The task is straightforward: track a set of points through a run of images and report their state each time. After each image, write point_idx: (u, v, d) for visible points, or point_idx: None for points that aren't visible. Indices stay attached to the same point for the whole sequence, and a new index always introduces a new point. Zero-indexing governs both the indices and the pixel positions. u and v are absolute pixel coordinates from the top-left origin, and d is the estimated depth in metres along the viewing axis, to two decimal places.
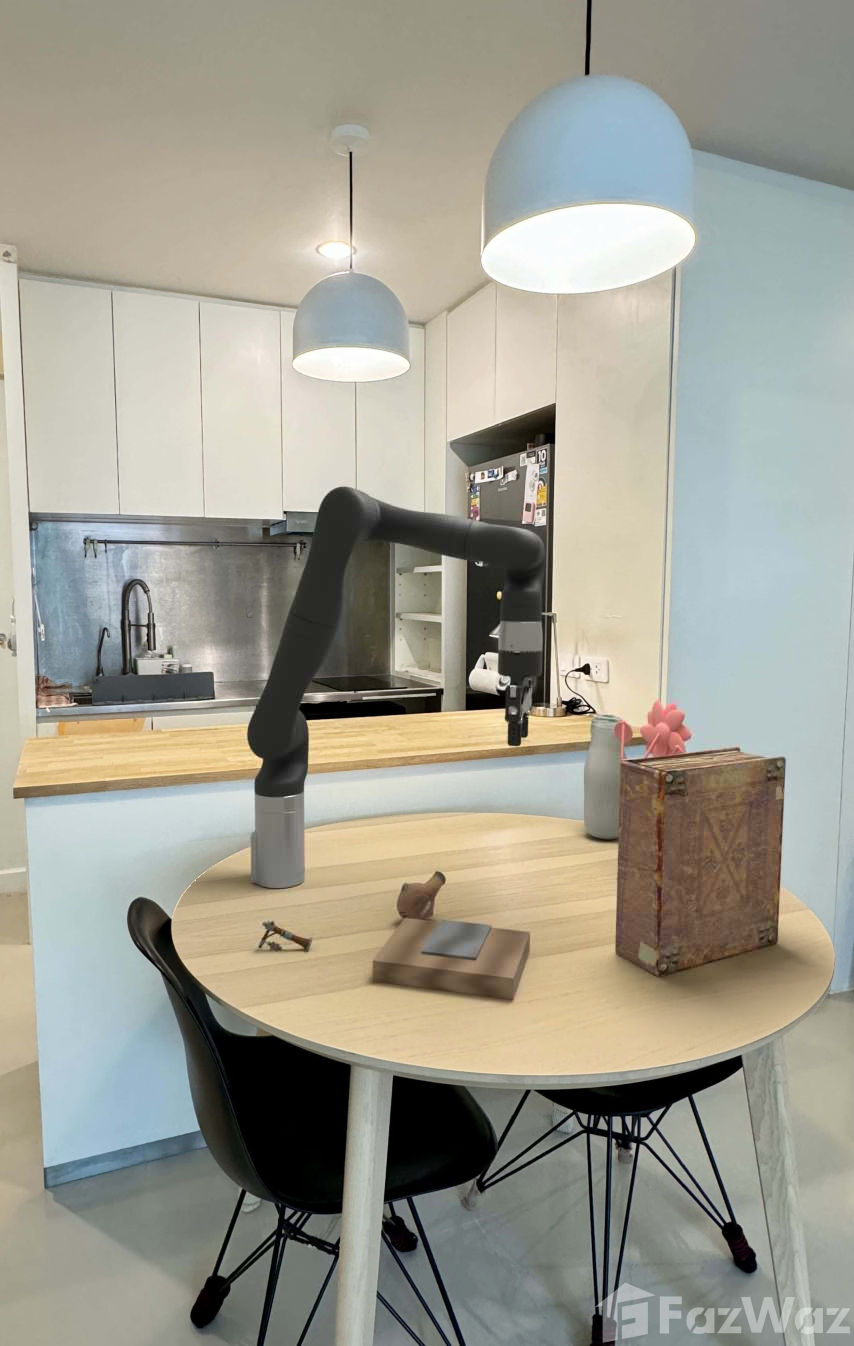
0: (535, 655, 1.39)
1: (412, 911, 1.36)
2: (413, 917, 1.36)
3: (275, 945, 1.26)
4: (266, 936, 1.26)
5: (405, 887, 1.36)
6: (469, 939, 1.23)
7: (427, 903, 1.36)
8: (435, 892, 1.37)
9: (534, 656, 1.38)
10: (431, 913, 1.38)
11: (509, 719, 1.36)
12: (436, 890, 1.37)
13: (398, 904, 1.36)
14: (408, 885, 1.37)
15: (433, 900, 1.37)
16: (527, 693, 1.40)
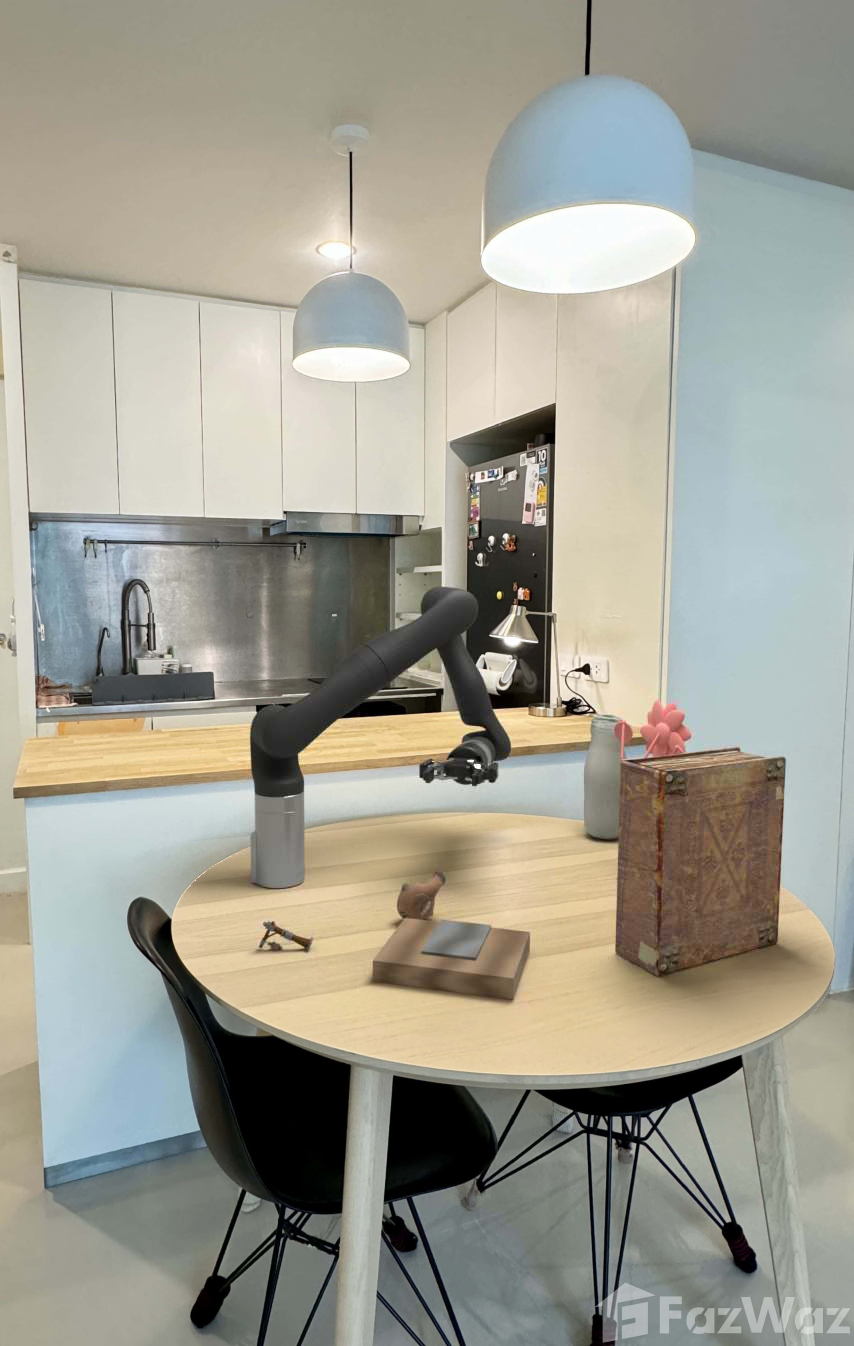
0: None
1: (412, 911, 1.36)
2: (413, 917, 1.36)
3: (276, 945, 1.26)
4: (267, 936, 1.26)
5: (405, 887, 1.36)
6: (469, 939, 1.23)
7: (427, 903, 1.36)
8: (435, 892, 1.37)
9: None
10: (431, 913, 1.38)
11: (494, 773, 1.49)
12: (436, 890, 1.37)
13: (398, 904, 1.36)
14: (408, 885, 1.37)
15: (433, 900, 1.37)
16: None
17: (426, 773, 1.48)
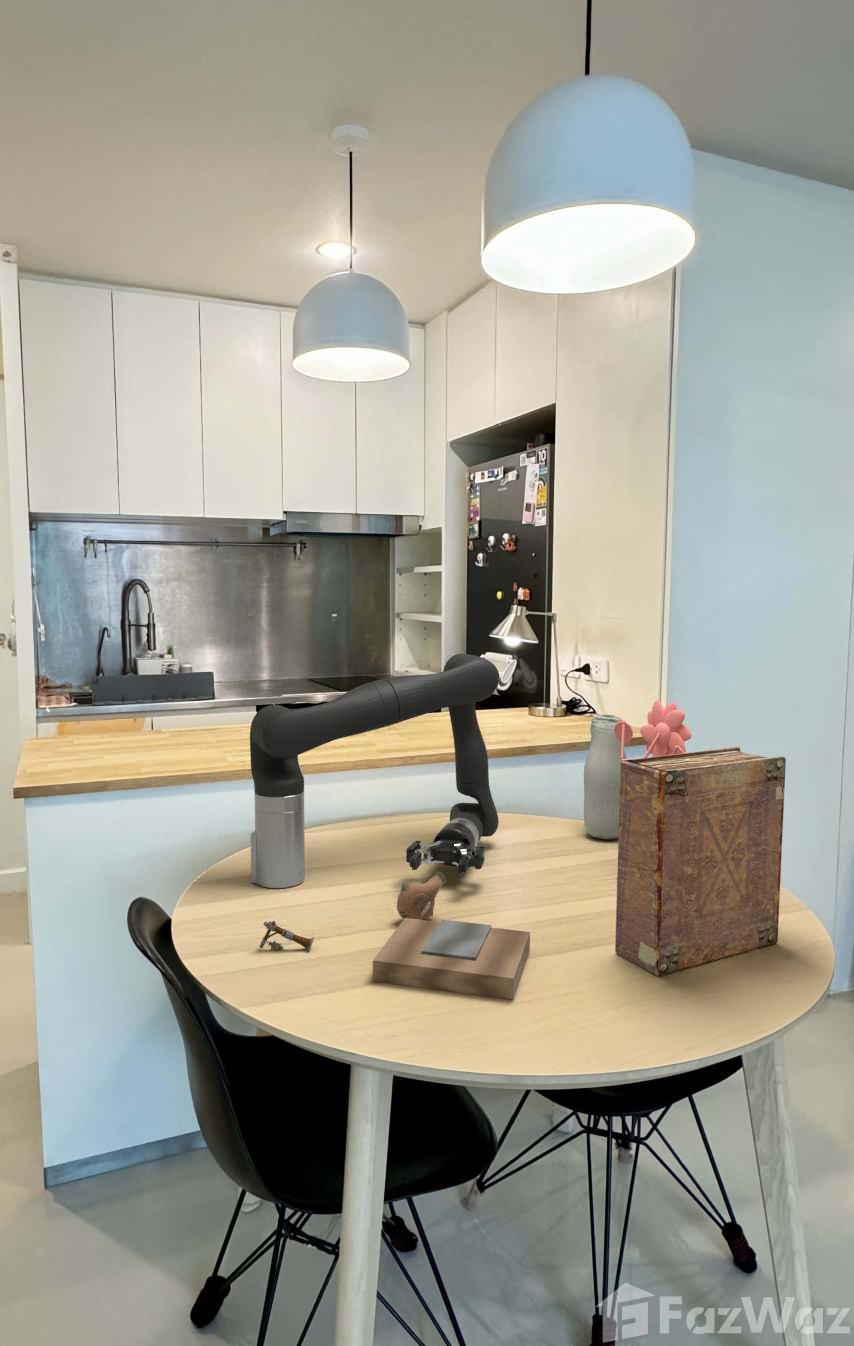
0: None
1: (412, 911, 1.36)
2: (413, 917, 1.36)
3: (276, 945, 1.26)
4: (267, 936, 1.26)
5: (405, 887, 1.36)
6: (469, 939, 1.23)
7: (427, 903, 1.36)
8: (435, 892, 1.37)
9: None
10: (431, 913, 1.38)
11: (480, 859, 1.50)
12: (436, 890, 1.37)
13: (398, 904, 1.36)
14: (408, 885, 1.37)
15: (433, 900, 1.37)
16: None
17: (413, 860, 1.48)
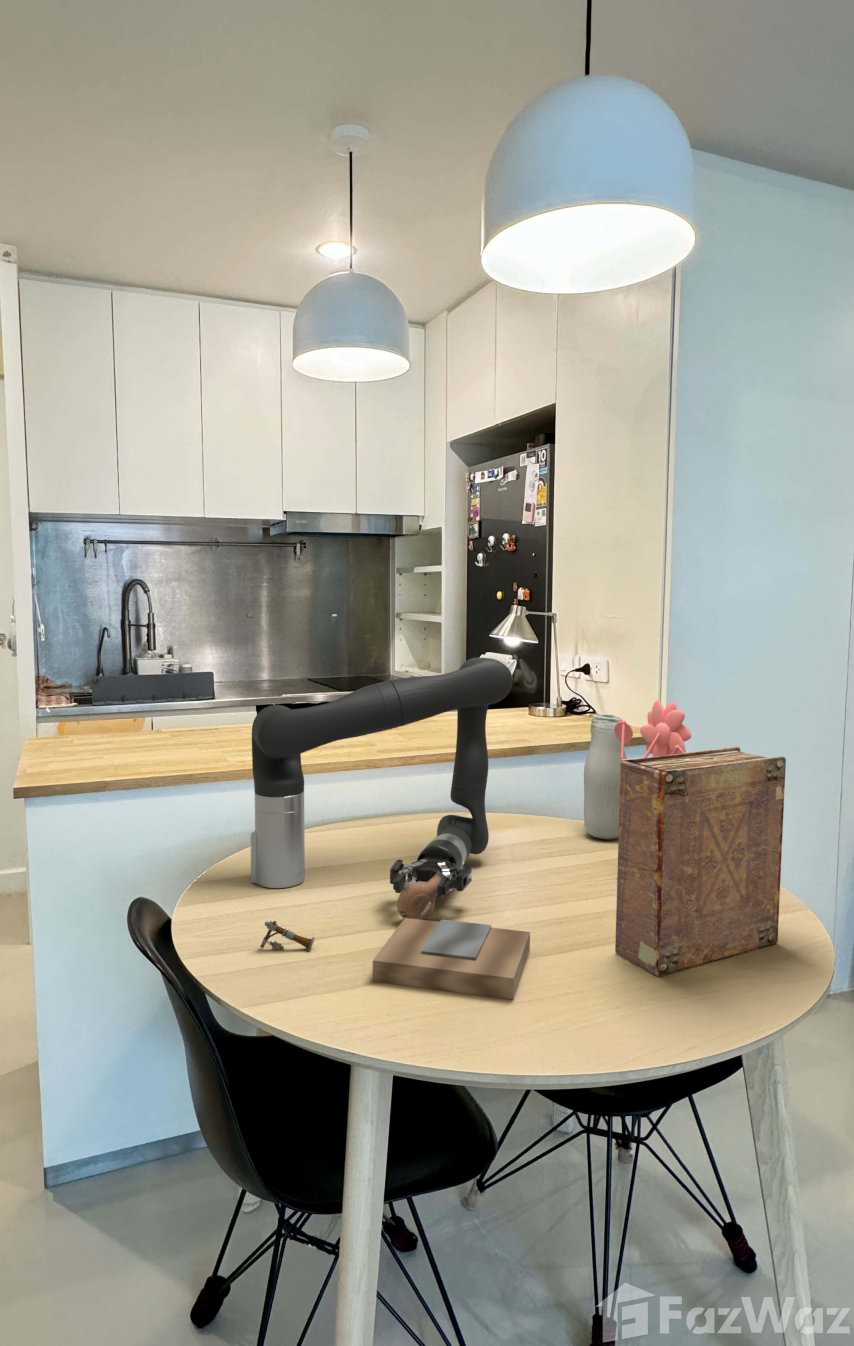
0: None
1: (412, 911, 1.36)
2: (413, 917, 1.36)
3: (277, 945, 1.27)
4: (268, 936, 1.26)
5: (406, 887, 1.36)
6: (469, 939, 1.23)
7: (427, 903, 1.36)
8: (436, 892, 1.37)
9: None
10: (431, 913, 1.38)
11: (462, 880, 1.39)
12: None
13: (398, 904, 1.36)
14: (409, 885, 1.36)
15: (433, 900, 1.37)
16: None
17: (396, 882, 1.37)
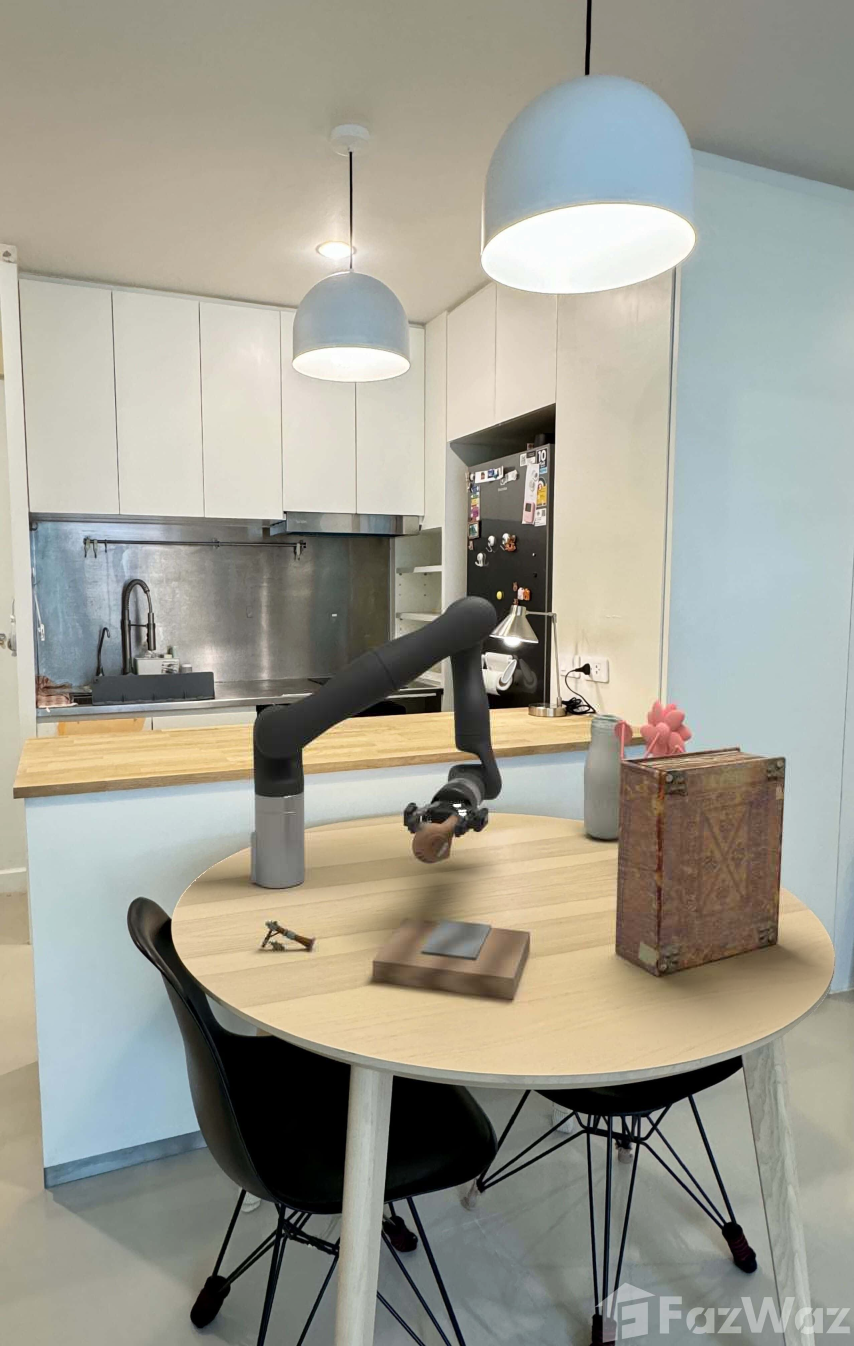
0: None
1: (428, 852, 1.29)
2: (429, 858, 1.30)
3: (278, 945, 1.27)
4: (269, 936, 1.26)
5: (421, 827, 1.30)
6: (469, 939, 1.23)
7: (444, 844, 1.30)
8: (452, 833, 1.31)
9: None
10: (448, 855, 1.32)
11: (480, 821, 1.33)
12: (453, 831, 1.31)
13: (414, 845, 1.30)
14: (424, 825, 1.30)
15: (450, 841, 1.31)
16: None
17: (411, 823, 1.30)
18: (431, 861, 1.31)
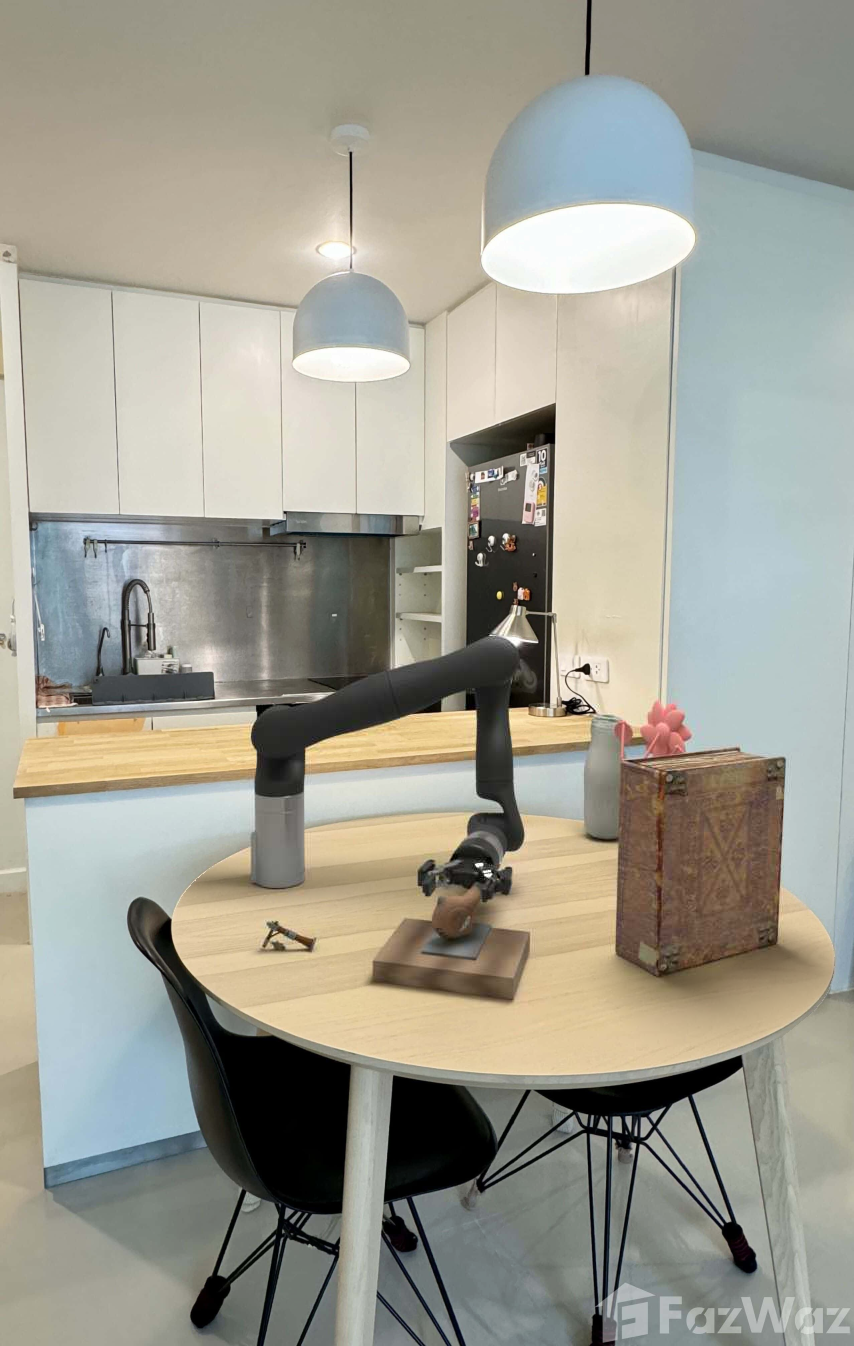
0: None
1: (450, 928, 1.21)
2: (451, 934, 1.21)
3: (279, 945, 1.27)
4: (270, 936, 1.26)
5: (442, 900, 1.21)
6: (469, 939, 1.23)
7: (466, 918, 1.21)
8: (475, 906, 1.22)
9: None
10: (470, 929, 1.23)
11: (508, 883, 1.24)
12: (476, 903, 1.22)
13: (434, 920, 1.21)
14: (445, 898, 1.22)
15: (473, 915, 1.22)
16: None
17: (426, 885, 1.22)
18: (453, 937, 1.22)
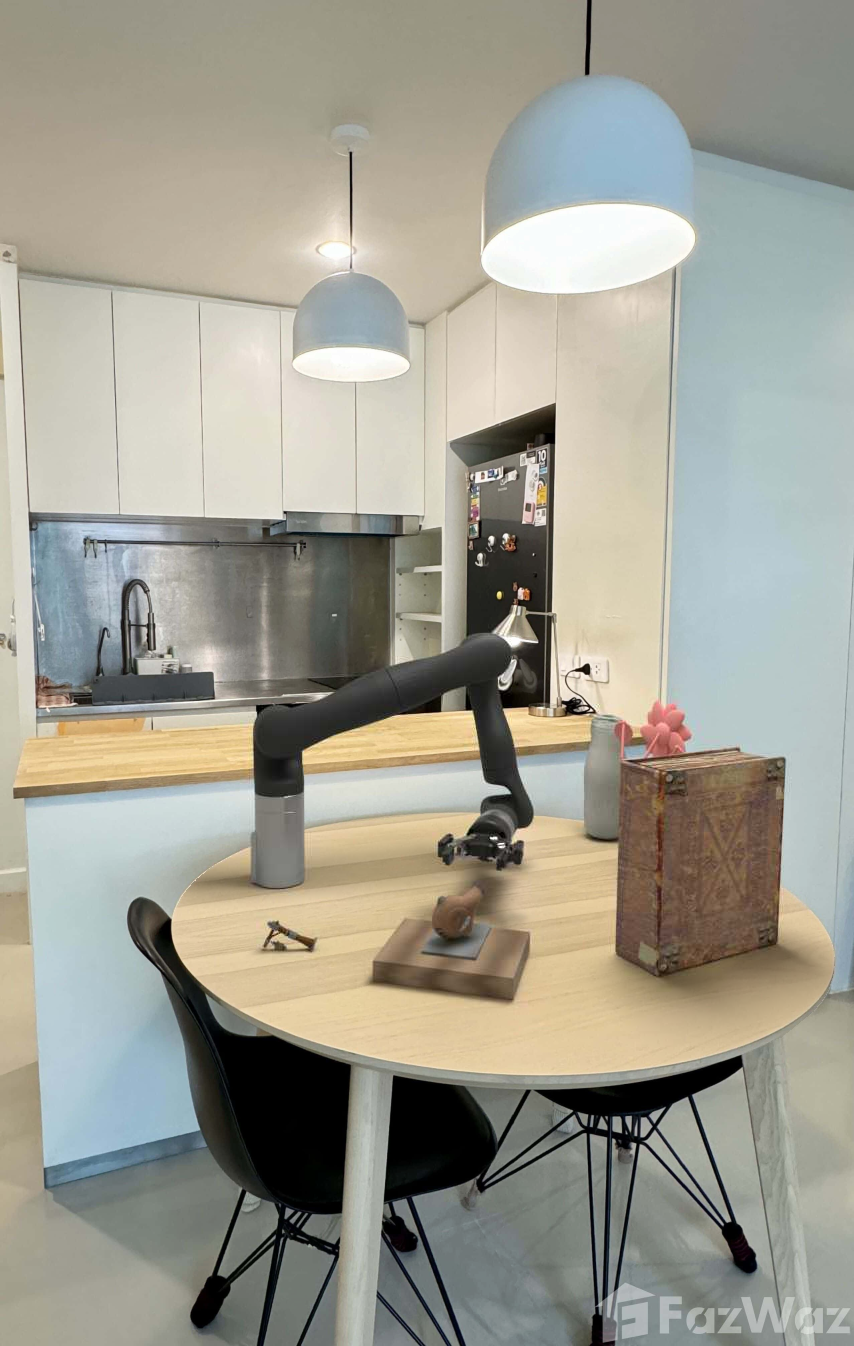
0: None
1: (450, 928, 1.21)
2: (451, 934, 1.21)
3: (280, 945, 1.27)
4: (271, 935, 1.27)
5: (441, 900, 1.21)
6: (469, 939, 1.23)
7: (466, 918, 1.21)
8: (475, 905, 1.22)
9: None
10: (470, 929, 1.23)
11: (520, 854, 1.36)
12: (476, 903, 1.22)
13: (434, 920, 1.21)
14: (445, 898, 1.22)
15: (472, 914, 1.22)
16: None
17: (446, 855, 1.35)
18: (453, 937, 1.22)
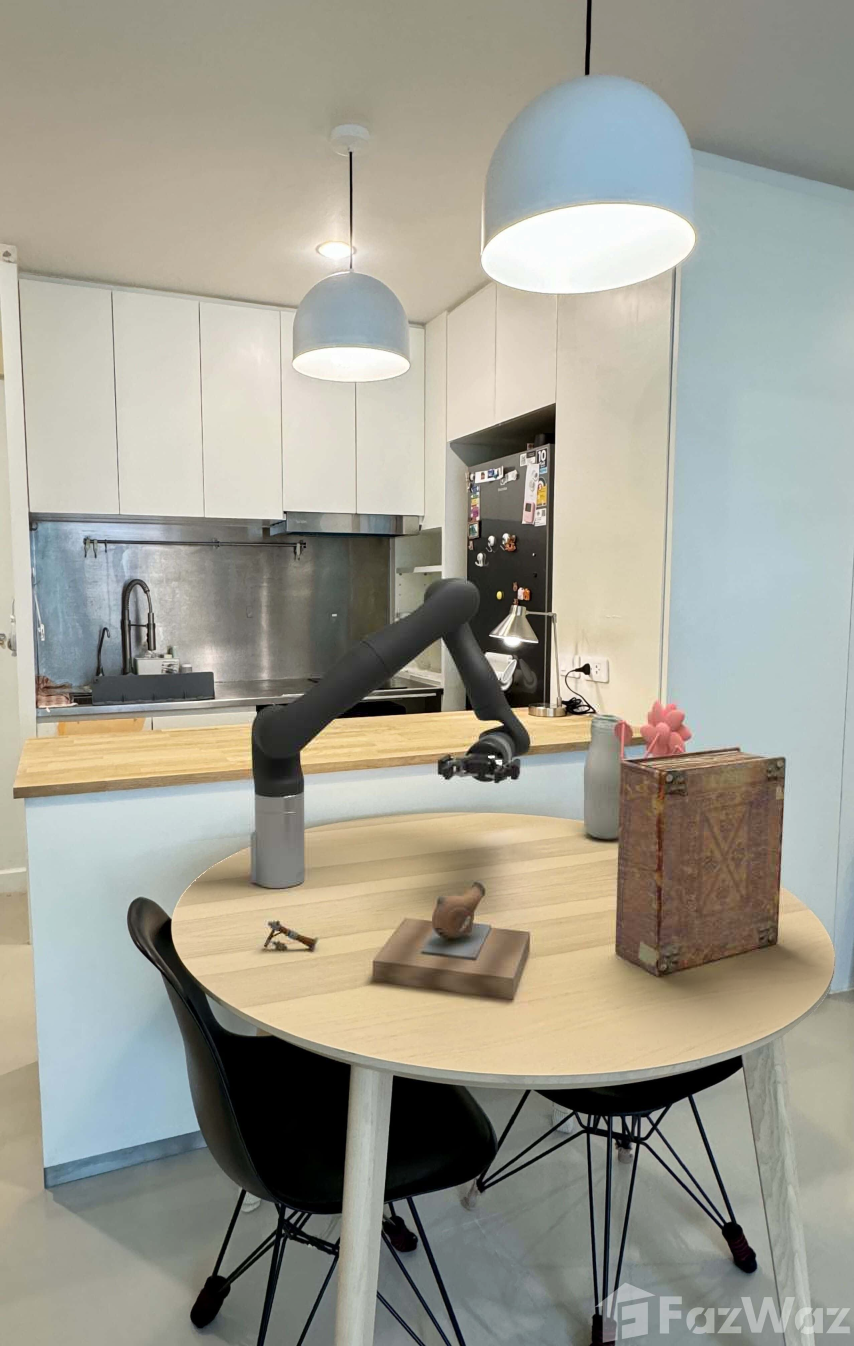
0: None
1: (450, 928, 1.21)
2: (451, 934, 1.21)
3: (280, 945, 1.27)
4: (271, 936, 1.27)
5: (441, 900, 1.21)
6: (469, 939, 1.23)
7: (466, 918, 1.21)
8: (475, 905, 1.22)
9: None
10: (470, 929, 1.23)
11: (517, 769, 1.42)
12: (476, 903, 1.22)
13: (434, 920, 1.21)
14: (445, 898, 1.22)
15: (472, 914, 1.22)
16: None
17: (446, 769, 1.41)
18: (453, 937, 1.22)
